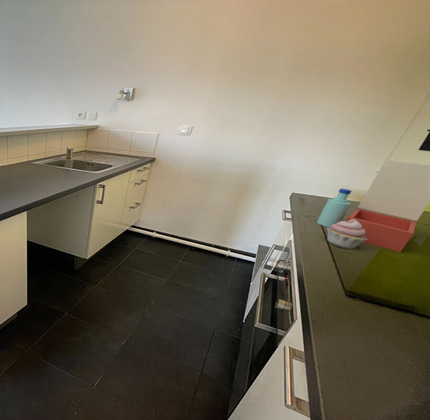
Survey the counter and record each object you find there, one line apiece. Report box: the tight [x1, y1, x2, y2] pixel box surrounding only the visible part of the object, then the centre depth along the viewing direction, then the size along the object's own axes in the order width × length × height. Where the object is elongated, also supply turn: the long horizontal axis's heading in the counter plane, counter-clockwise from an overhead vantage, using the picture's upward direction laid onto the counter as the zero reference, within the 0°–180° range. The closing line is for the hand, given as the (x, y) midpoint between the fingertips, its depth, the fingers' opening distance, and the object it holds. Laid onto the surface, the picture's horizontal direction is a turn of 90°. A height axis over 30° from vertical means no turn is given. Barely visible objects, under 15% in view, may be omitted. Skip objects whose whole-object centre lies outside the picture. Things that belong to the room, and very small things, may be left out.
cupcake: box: [326, 219, 367, 251], centre depth 82 cm, size 9×9×10 cm
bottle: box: [316, 188, 352, 228], centre depth 96 cm, size 6×6×16 cm
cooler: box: [346, 208, 417, 253], centre depth 88 cm, size 18×14×8 cm
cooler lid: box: [357, 159, 430, 222], centre depth 88 cm, size 19×14×1 cm
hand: (424, 150), depth 88 cm, fingers closed
